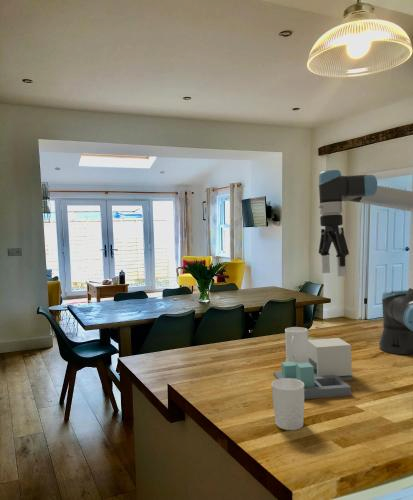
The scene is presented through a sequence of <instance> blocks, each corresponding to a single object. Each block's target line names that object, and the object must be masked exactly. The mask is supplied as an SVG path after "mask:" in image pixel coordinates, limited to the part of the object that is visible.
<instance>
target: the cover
mask: <svg viewBox="0 0 413 500" xmlns="http://www.w3.org/2000/svg"><path fill="white" fill-rule="evenodd" d="M307 351H308V362H309V363H310V364H311V365H312V366H313V367H314V369H317V376H330V375H337V376H347V375H352V376H353V369H352V368H353V367H352V366H353V364H352V361H353V360H352V345H351V344H350V343H348V342H347V341H345V340H343V339H341V338H340V337H334V338H333V337H331V338H321V339H316V340H307Z"/></svg>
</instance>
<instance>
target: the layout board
mask: <svg viewBox="0 0 413 500" xmlns="http://www.w3.org/2000/svg"><path fill="white" fill-rule="evenodd" d="M280 364H281V365H280V366H281V367H280V368H281V371H273V376H274V378H275V380H277V379H282V378H296V364H295V363H294V362H286V361H281V363H280ZM314 377H317V369H314ZM338 377H339V378H340V379H342V380H343V381H344V382H346V381H354V378H355V377H354V376H353V374H352V375H347V376H338Z"/></svg>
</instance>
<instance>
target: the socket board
mask: <svg viewBox="0 0 413 500" xmlns="http://www.w3.org/2000/svg"><path fill="white" fill-rule="evenodd" d="M292 379H296V378H292ZM345 396H352V387H351V386H350V385H349V384H348V383H347V382H346V381H343V380H342V379H340V378H339V377H338V376H337V375H330V376H317V377H314V387H309V388H304V400H309V399H324V398H333V397H345Z"/></svg>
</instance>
